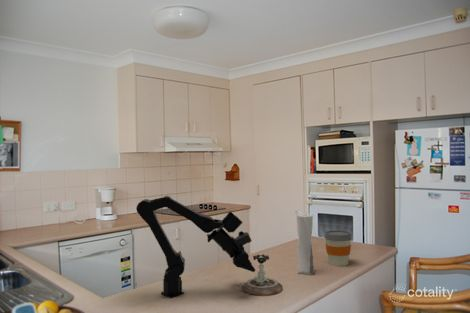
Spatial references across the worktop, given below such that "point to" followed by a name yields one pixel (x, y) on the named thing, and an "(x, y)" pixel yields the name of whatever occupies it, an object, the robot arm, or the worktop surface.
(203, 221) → the robot arm
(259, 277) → the valve
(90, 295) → the worktop surface
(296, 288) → the worktop surface
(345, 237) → the reusable coffee cup
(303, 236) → the skyscraper
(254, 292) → the collar base
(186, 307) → the worktop surface
